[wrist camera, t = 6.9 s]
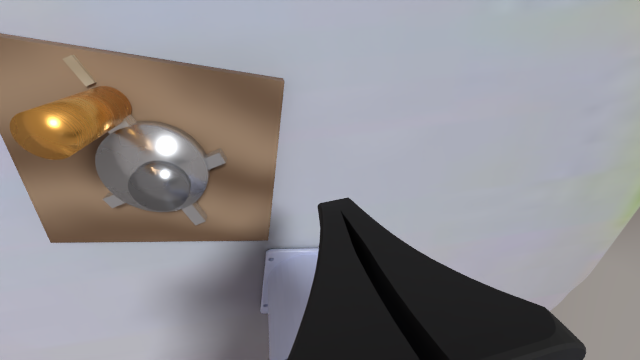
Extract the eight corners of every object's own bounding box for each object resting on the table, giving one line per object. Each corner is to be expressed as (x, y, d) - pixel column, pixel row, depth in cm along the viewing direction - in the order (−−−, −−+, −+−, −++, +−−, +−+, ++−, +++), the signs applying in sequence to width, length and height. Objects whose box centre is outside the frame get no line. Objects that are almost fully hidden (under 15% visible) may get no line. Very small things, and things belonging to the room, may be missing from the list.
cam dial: (251, 197, 19) (248, 245, 14) (153, 236, 19) (122, 296, 14) (165, 59, 13) (120, 72, 9) (27, 114, 13) (-82, 153, 9)
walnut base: (267, 231, 22) (268, 242, 21) (62, 230, 18) (48, 244, 17) (282, 78, 16) (284, 82, 15) (-22, 29, 12) (-52, 29, 11)
